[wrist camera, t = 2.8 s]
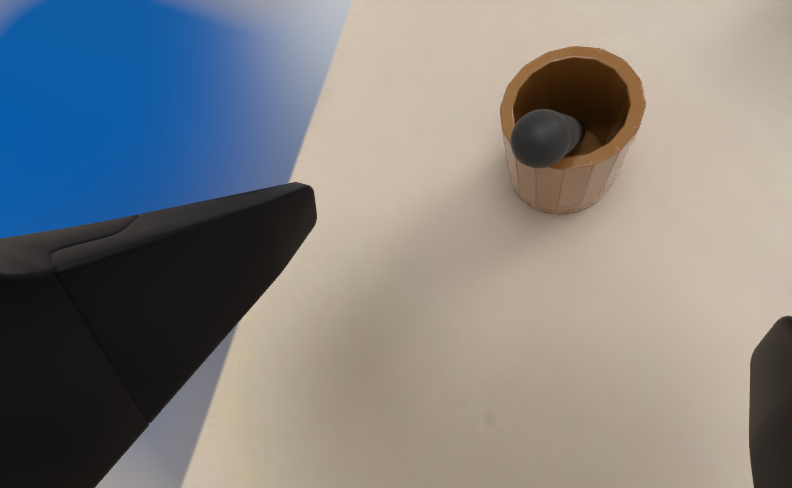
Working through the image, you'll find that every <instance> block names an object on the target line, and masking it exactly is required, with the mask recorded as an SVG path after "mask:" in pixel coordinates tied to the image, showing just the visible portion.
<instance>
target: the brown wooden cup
mask: <svg viewBox="0 0 792 488" xmlns="http://www.w3.org/2000/svg"><path fill="white" fill-rule="evenodd" d="M645 104H646V101H645V96H644V91H643V86H642V82H641V80H640V78H639V77H638V75H637V74H636V73H635V72H634V70H633V69H632V68H631V67H630V66H629V64H628V63H627V62H626V61H624V59H622V58H620V57H618V56H616V55H614V54H612V53H610V52H607V51H605V50H603V49H600V48H590V47H580V46H572V47H567V48H563V49H559V50H554V51H550V52H548V53H545V54H543V55H542V56H540V57H538V58H537V59H535V60H533V61H532V62H530V63H528V64H527V65H525V66H524V67H523V68H522V69H521V70H520V71H519V73H518V74H517V75H516V76H515V77H514V79H513V80H512V81H511V82H510V83H509V85H508V86H507V88H506V91H505V94H504V97H503V100H502V103H501V106H500V115H501V125H502V133H503V139H504V145H505V151H506V157H507V163H508V169H509V175H510V179H511V182H512V185H513V187H514V189H515V191H516V193H517V194H518V195H519V197H520V198H521V199H522V200H523V201H524V202H526V203H527V204H528V205H530V206H531V207H533V208H535V209H537V210H539V211H543V212H546V213H551V214H568V213H573V212H577V211H580V210H583V209H585V208H587V207H589V206H591V205H592V204H594V203H595V202H596V201H598V200H599V199H600V198H601V197H602V196H603V195H604V194H605V192H606V191H607V190H608V188H609V186H610V185H611V184H612V182H613V180H614V178H615V176H616V174H617V172H618V170H619V168H620V166H621V164H622V162H623V160H624V158H625V156H626V154H627V152H628V150H629V148H630V146H631V144H632V142H633V140H634V138H635V136H636V134H637V132H638V130H639V127H640V124H641V121H642V117H643V114H644V110H645V107H646V105H645ZM538 109H549V110H553V111H556V112H559V113H562V114H565V115H568V116H572V117H575V118H577V119H579V120H581V121H582V122H583V124H584V126H585V130H586V132H585V137H584V139H583V140H582V142H581V143H580V144H578V145H577V146H576V147H575V148H574V149H573V150H571V151H570V152H569V153H568V154H567V155H566V156H564V157H563V158H562V159H561V160H560V161H559V162H557V163H556V164H554V165H552V166H549V167H546V168H531V167H528V166H526V165H524V164H522V163H521V162H520V161H518V160H517V158H516V157H515V156H514V154H513V152H512V149H511V144H510V138H511V133H512V130H513V128H514V126H515V124H516V123H517V122H518V120H519V119H520V118H522V117H523V116H524V115H526V114H527V113H529V112H531V111H534V110H538Z"/></svg>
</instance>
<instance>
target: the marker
mask: <svg viewBox="0 0 792 488" xmlns="http://www.w3.org/2000/svg"><path fill="white" fill-rule="evenodd" d="M585 132H586V130H585V126H584V124H583V122H582V121H581V120H579V119H577V118H575V117H572V116H568V115H565V114H562V113H559V112H556V111H553V110H549V109H538V110H534V111H531V112H529V113H527V114H526V115H524V116H523V117H522V118H520V119H519V120H518V122H517V123H516V124H515V126H514V128H513V130H512V133H511V138H510V144H511V149H512V152H513V154H514V156H515V157H516V158H517V160H518V161H520V162H521V163H522V164H524V165H526V166H528V167H531V168H546V167H549V166H552V165H554V164H556V163H557V162H559V161H560V160H561V159H562V158H563V157H564V156H566V155H567V154H568V153H569V152H570V151H571V150H573V149H574V148H575V147H576V146H577V145H578V144H580V143H581V142H582V140H583V139H584V137H585Z"/></svg>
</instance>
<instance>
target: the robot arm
mask: <svg viewBox="0 0 792 488" xmlns="http://www.w3.org/2000/svg"><path fill="white" fill-rule="evenodd" d="M316 220H317V212H316V203H315V195H314V190H313V188H312V187H311V186H309V185H306V184H302V183H298V182H294V183H289V184H284V185H279V186H274V187H269V188H264V189H259V190H255V191H250V192H245V193H240V194H235V195H230V196H225V197H221V198H216V199H211V200H206V201H201V202H196V203H192V204H187V205H182V206H177V207H172V208H167V209H163V210H157V211H153V212H148V213H143V214H141V215H140V216H139V215H133V216H128V217H123V218H118V219H113V220H108V221H103V222H97V223H93V224H87V225H81V226H75V227H70V228H64V229H58V230H52V231H46V232H39V233H34V234H28V235H21V236H15V237H9V238H2V239H0V488H95V487H96V486H97V484H98V483H99V482H100V481H101V480H102V479H103V478H104V476H105V475H106V474H107V473H108V472H109V471H110V469H111V468H112V467H113V466H114V465H115V464H116V463H117V462H118V460H119V459H120V458H121V457H122V456H123V455H124V453H125V452H126V451H127V450H128V449H129V448H130V447H131V445H132V444H133V443H134V442H135V441H136V440H137V438H138V437H139V436H140V435H141V434H142V433H143V432H144V430H145V429H146V428H147V427H148V426H149V423H151V422H152V421H153V420H154V418H155V417H156V416H157V415H158V414H159V413H160V412H161V410H162V409H163V408H164V407H165V406H166V405H167V404H168V402H169V401H170V400H171V399H172V398H173V397H174V396H175V394H176V393H177V392H178V391H179V390H180V389H181V388H182V386H183V385H184V384H185V383H186V382H187V381H188V379H189V378H190V377H191V376H192V375H193V374H194V373H195V371H196V370H197V369H198V368H199V367H200V366H201V365H202V363H203V362H204V361H205V360H206V359H207V358H208V356H209V355H210V354H211V353H212V352H213V351H214V350H215V348H216V347H217V346H218V345H219V344H220V343H221V342H222V340H223V339H224V338H225V337H226V336H227V335H228V333H229V332H230V331H231V330H232V329H233V328H234V327H235V326H236V324H237V323H238V322H239V321H240V320H241V319H242V318H243V316H244V315H245V314H246V313H247V312H248V311H249V309H250V308H251V307H252V306H253V305H254V304H255V303H256V301H257V300H258V299H259V298H260V297H261V296H262V295H263V293H264V292H265V291H266V290H267V289H268V288H269V286H270V285H271V284H272V283H273V282H274V281H275V280H276V278H277V277H278V276H279V275H280V274H281V272H282V271H283V270H284V268H285V267H286V266H287V264H288V263H289V262H290V260H291V259H292V257H293V256H294V254H295V253H296V252H297V250H298V249H299V247H300V246H301V244H302V243H303V242H304V240H305V239H306V237H307V236H308V234H309V233H310V232H311V230H312V229H313V227H314V226H315V223H316ZM749 449H750V460H751V468H752V476H753V484H754V488H792V316H785V317H782V318H780V319H779V320H778V321H777V322H776V323H775V324H774V325H773V327H772V328H771V329H770V330H769V332H768V333H767V334H766V335H765V337H764V338H763V339H762V341H761V342H760V343H759V344H758V346H757V347H756V348H755V350H754V352H753V354H752V357H751V363H750V408H749Z"/></svg>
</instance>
